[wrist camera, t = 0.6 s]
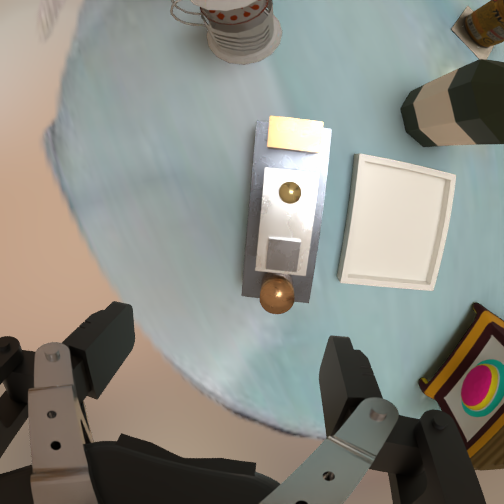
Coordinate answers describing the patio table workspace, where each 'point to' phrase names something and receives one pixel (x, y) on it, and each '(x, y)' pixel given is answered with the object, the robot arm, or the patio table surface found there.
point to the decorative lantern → (475, 389)
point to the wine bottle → (458, 107)
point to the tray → (395, 224)
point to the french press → (238, 28)
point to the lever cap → (286, 221)
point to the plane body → (265, 155)
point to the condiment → (482, 27)
